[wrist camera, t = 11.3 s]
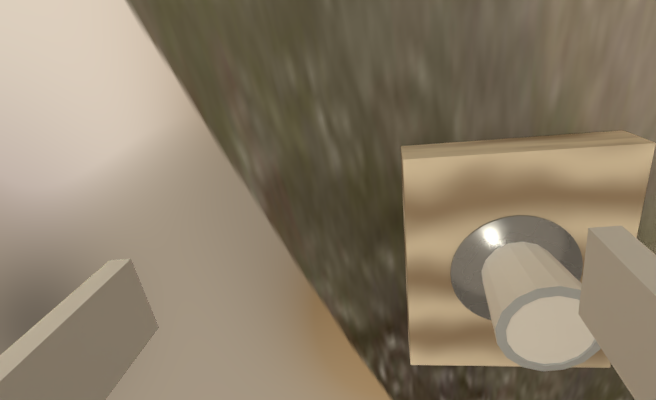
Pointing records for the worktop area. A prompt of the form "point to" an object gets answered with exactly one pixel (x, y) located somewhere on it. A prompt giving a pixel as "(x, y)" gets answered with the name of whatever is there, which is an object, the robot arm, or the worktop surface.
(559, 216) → the birch stand
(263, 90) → the worktop surface
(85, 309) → the robot arm
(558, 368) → the tapered cream cylinder
